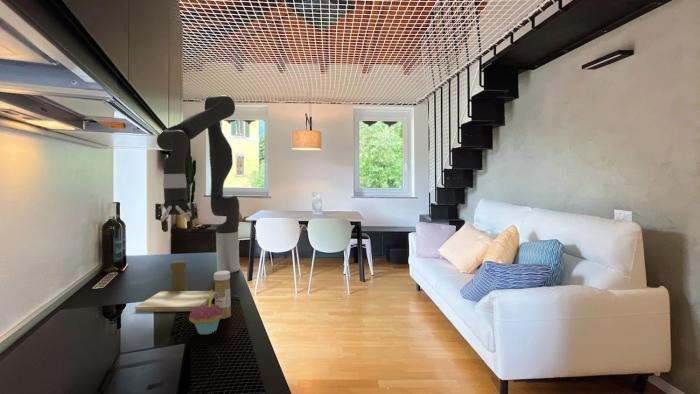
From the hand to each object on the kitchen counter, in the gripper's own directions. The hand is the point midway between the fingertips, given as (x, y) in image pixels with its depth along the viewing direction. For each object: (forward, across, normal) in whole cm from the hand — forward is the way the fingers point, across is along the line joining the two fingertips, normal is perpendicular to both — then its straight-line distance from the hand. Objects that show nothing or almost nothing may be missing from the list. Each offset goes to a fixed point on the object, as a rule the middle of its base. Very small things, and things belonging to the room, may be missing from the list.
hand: (177, 231), depth 133 cm
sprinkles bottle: (+22, -24, +25) cm, 41 cm away
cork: (+22, 0, 0) cm, 22 cm away
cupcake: (+22, -23, +35) cm, 48 cm away
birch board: (+22, -6, +13) cm, 26 cm away
